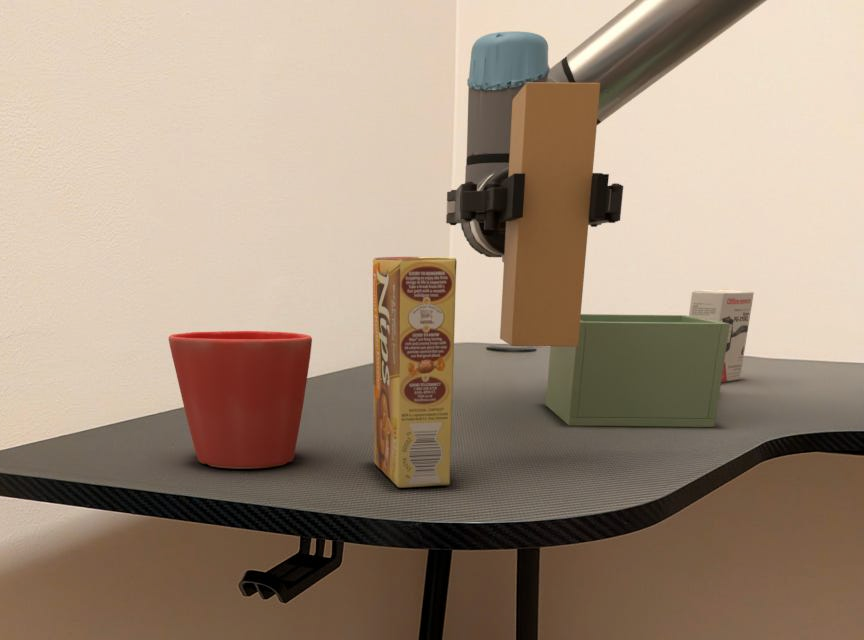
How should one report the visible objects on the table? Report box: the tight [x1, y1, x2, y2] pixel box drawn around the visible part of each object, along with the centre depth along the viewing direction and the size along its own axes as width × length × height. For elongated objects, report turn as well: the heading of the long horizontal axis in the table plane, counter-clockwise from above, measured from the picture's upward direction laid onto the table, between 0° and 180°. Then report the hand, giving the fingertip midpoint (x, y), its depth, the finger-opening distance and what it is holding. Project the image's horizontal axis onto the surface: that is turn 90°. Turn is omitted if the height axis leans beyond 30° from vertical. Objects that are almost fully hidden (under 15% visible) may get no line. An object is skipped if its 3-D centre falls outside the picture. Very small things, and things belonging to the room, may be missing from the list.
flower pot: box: [168, 330, 313, 470], centre depth 72 cm, size 11×11×10 cm
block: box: [499, 82, 600, 347], centre depth 68 cm, size 5×7×17 cm
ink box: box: [688, 288, 754, 383], centre depth 124 cm, size 8×5×12 cm, turn 134°
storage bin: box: [545, 313, 730, 428], centre depth 95 cm, size 15×14×10 cm
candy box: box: [372, 256, 458, 489], centre depth 66 cm, size 9×4×15 cm, turn 13°
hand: (559, 195), depth 62 cm, fingers closed on block, 5 cm apart
